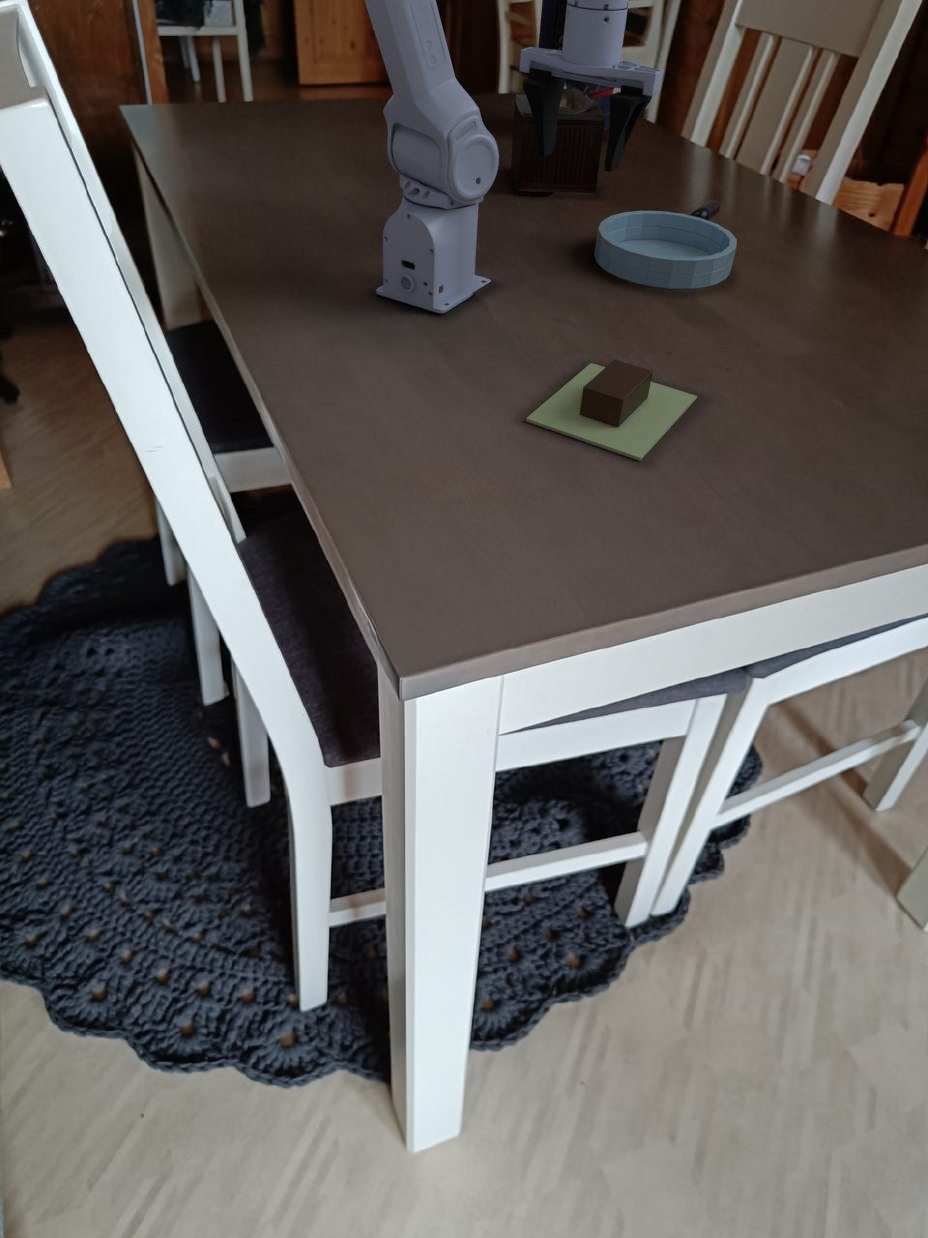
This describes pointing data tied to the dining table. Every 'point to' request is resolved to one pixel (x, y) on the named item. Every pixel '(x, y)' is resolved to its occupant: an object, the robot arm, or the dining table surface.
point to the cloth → (626, 439)
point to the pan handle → (707, 210)
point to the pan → (665, 249)
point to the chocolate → (615, 393)
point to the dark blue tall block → (549, 39)
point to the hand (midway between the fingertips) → (578, 161)
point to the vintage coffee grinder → (558, 146)
